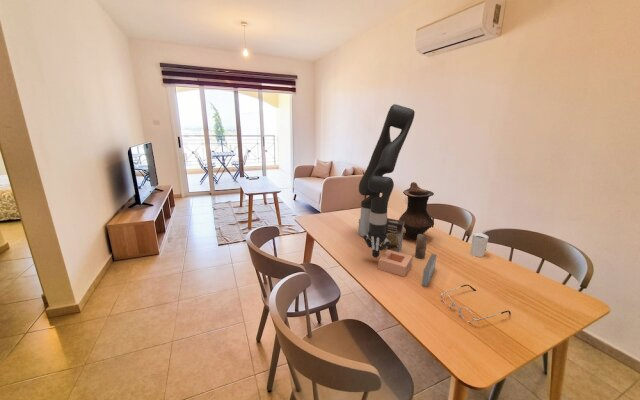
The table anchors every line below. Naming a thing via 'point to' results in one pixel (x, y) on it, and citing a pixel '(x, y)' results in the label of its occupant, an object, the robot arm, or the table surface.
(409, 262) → the holder
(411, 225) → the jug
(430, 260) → the rail base
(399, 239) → the coffee box
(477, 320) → the eyeglasses
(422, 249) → the dowel
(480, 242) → the drinking glass
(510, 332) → the table surface
